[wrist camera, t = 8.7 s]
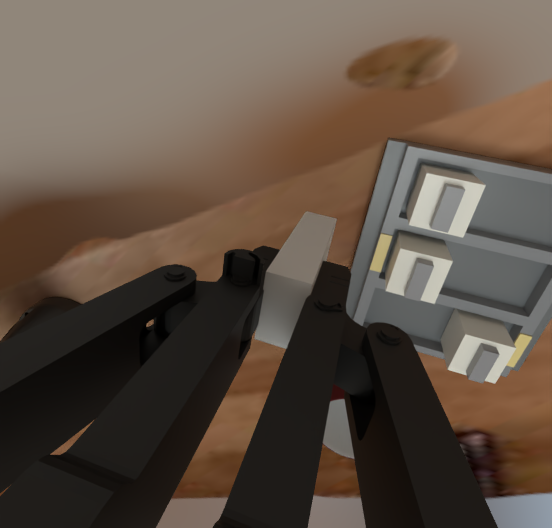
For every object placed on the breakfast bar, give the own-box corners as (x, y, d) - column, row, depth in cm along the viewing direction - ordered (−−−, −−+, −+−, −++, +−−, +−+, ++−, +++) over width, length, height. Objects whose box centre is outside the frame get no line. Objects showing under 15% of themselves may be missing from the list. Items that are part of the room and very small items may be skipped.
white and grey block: (405, 208, 31) (409, 229, 26) (421, 162, 29) (428, 175, 25) (452, 219, 31) (465, 242, 26) (471, 172, 29) (489, 188, 24)
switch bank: (338, 309, 40) (334, 328, 36) (388, 137, 31) (389, 142, 28) (511, 358, 37) (523, 383, 34) (618, 182, 28) (648, 193, 25)
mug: (314, 314, 41) (295, 376, 32) (389, 308, 38) (390, 375, 29) (333, 385, 44) (321, 458, 36) (402, 384, 42) (406, 463, 33)
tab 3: (440, 339, 36) (449, 377, 31) (455, 306, 34) (467, 341, 29) (482, 351, 35) (498, 391, 30) (500, 318, 33) (520, 356, 28)
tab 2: (385, 268, 34) (385, 296, 29) (398, 229, 32) (401, 253, 27) (428, 279, 33) (436, 310, 29) (444, 240, 32) (455, 266, 27)
